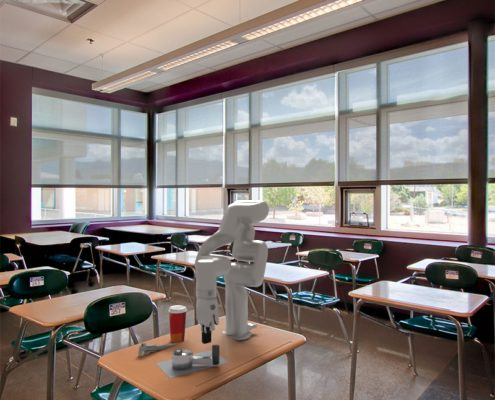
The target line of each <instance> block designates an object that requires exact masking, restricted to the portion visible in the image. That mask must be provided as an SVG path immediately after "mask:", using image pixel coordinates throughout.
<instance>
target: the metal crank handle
mask: <svg viewBox="0 0 495 400" xmlns="http://www.w3.org/2000/svg"><path fill="white" fill-rule="evenodd" d="M220 348H221V347H220V345H219V344H212V345H211V350H212V357H208V356H193V354H194V353H193V351H192V350H190V349H181V348H176V349H174V350H173V352H172V355H171V359H172V367H173V368H174V369H177V370H185V369H188V368H190V367H192V365H193V364H204V365H218V364H219V357H220V356H221V355H220V350H221V349H220ZM218 366H219V365H218Z"/></svg>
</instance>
